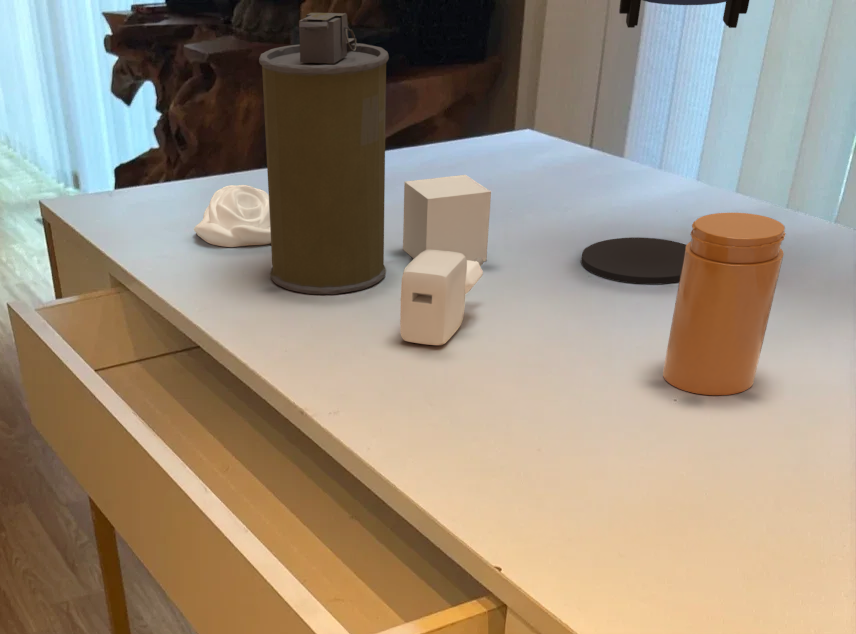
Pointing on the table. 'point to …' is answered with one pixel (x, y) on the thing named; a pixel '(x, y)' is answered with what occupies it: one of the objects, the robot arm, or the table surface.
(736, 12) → the robot arm
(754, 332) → the jar
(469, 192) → the beige cube
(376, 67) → the canister
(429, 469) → the table surface
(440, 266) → the power adapter
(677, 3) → the jar lid
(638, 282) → the coaster
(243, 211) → the rose
